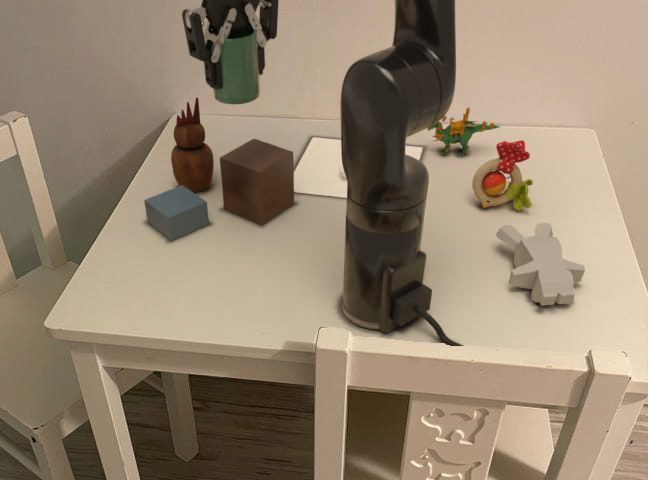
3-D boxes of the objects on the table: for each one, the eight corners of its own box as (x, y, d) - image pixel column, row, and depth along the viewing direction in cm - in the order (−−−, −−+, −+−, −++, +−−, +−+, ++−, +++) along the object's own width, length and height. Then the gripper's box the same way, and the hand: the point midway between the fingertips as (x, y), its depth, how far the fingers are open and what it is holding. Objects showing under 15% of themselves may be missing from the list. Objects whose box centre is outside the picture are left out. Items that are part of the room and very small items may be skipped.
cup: (269, 95, 101) (266, 31, 96) (232, 108, 99) (227, 43, 93) (241, 82, 105) (237, 20, 100) (205, 94, 103) (199, 31, 97)
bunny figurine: (525, 289, 92) (493, 214, 102) (516, 317, 96) (486, 243, 106) (600, 283, 92) (561, 209, 102) (588, 312, 96) (551, 238, 106)
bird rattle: (487, 229, 113) (547, 206, 111) (467, 170, 107) (530, 144, 104) (478, 209, 118) (536, 186, 115) (459, 150, 111) (519, 125, 109)
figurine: (423, 149, 129) (428, 103, 124) (493, 148, 128) (502, 103, 123) (425, 157, 127) (430, 111, 122) (496, 156, 126) (505, 110, 121)
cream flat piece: (335, 182, 122) (336, 160, 119) (345, 160, 128) (346, 138, 125) (388, 188, 120) (390, 165, 117) (396, 165, 125) (398, 143, 123)
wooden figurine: (217, 178, 125) (209, 91, 115) (213, 195, 121) (204, 107, 111) (178, 178, 126) (167, 92, 116) (172, 195, 122) (160, 107, 112)
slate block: (209, 224, 114) (207, 201, 112) (171, 240, 111) (167, 217, 109) (184, 207, 119) (182, 184, 116) (147, 222, 116) (143, 199, 113)
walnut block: (294, 204, 118) (293, 151, 112) (262, 225, 113) (259, 172, 107) (256, 189, 122) (253, 138, 116) (223, 209, 118) (219, 157, 111)
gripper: (196, -38, 84) (209, 104, 95) (292, -62, 90) (294, 74, 102) (161, -49, 89) (177, 87, 100) (255, -72, 95) (261, 59, 106)
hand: (236, 80), depth 101 cm, fingers closed on cup, 6 cm apart
